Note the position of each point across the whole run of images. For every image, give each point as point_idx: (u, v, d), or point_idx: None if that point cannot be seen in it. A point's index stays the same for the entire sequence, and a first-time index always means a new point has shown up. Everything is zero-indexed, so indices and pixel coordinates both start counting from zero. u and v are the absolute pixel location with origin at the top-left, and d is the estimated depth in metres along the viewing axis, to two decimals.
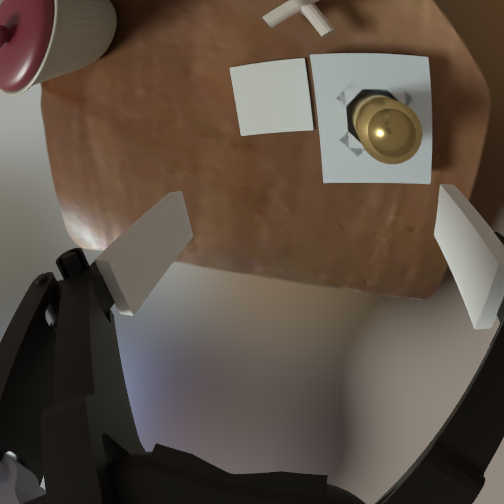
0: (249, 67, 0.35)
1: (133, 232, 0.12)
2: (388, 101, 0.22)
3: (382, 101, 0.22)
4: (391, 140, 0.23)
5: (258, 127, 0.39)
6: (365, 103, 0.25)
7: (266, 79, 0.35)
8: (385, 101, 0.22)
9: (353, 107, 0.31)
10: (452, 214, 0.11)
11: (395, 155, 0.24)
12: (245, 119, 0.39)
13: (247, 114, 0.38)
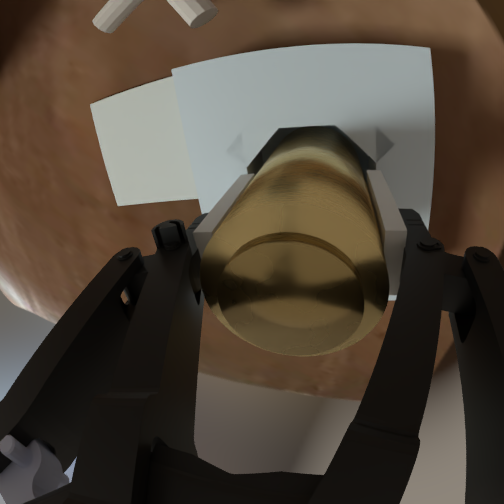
0: (113, 100, 0.21)
1: (225, 207, 0.12)
2: (277, 210, 0.08)
3: (257, 211, 0.08)
4: (285, 323, 0.09)
5: (136, 194, 0.25)
6: (248, 186, 0.11)
7: (136, 117, 0.21)
8: (267, 211, 0.08)
9: None
10: (371, 195, 0.13)
11: (299, 351, 0.10)
12: (118, 182, 0.25)
13: (119, 174, 0.25)
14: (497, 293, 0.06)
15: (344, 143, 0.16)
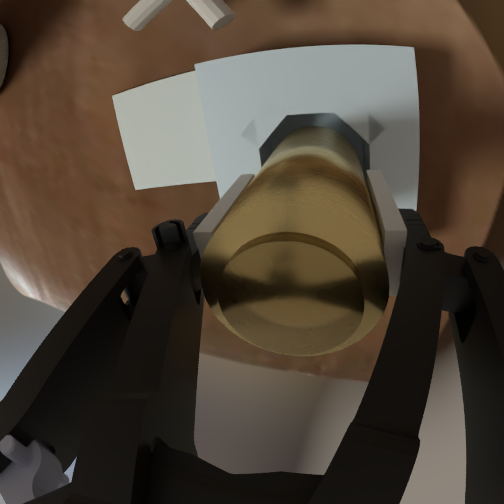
0: (134, 92, 0.23)
1: (225, 207, 0.12)
2: (278, 209, 0.08)
3: (257, 210, 0.08)
4: (286, 322, 0.09)
5: (153, 178, 0.28)
6: (248, 186, 0.11)
7: (156, 107, 0.24)
8: (267, 210, 0.08)
9: None
10: (370, 195, 0.13)
11: (299, 351, 0.10)
12: (136, 168, 0.27)
13: (138, 160, 0.27)
14: (497, 293, 0.06)
15: (344, 143, 0.16)
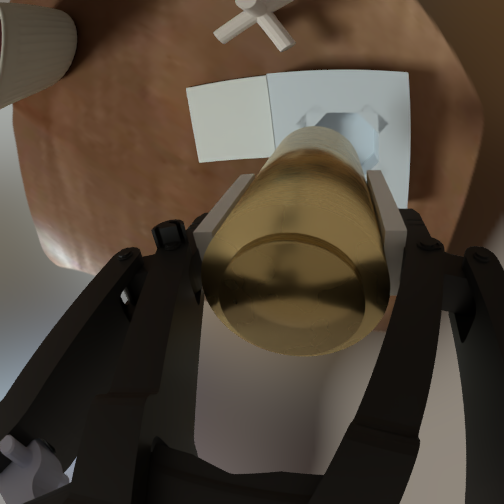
0: (206, 87, 0.32)
1: (225, 207, 0.12)
2: (279, 210, 0.08)
3: (259, 211, 0.08)
4: (287, 323, 0.09)
5: (216, 154, 0.37)
6: (249, 187, 0.11)
7: (224, 100, 0.33)
8: (268, 211, 0.08)
9: None
10: (370, 195, 0.13)
11: (300, 351, 0.10)
12: (202, 145, 0.37)
13: (205, 139, 0.36)
14: (497, 293, 0.06)
15: (345, 143, 0.16)
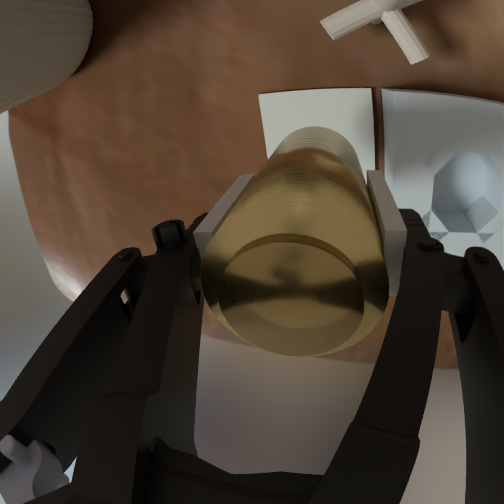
0: (288, 96, 0.24)
1: (225, 207, 0.12)
2: (278, 211, 0.08)
3: (258, 212, 0.08)
4: (286, 323, 0.09)
5: None
6: (248, 187, 0.11)
7: (313, 116, 0.25)
8: (267, 212, 0.08)
9: None
10: (370, 195, 0.13)
11: (299, 352, 0.10)
12: None
13: None
14: (497, 293, 0.06)
15: (344, 144, 0.16)
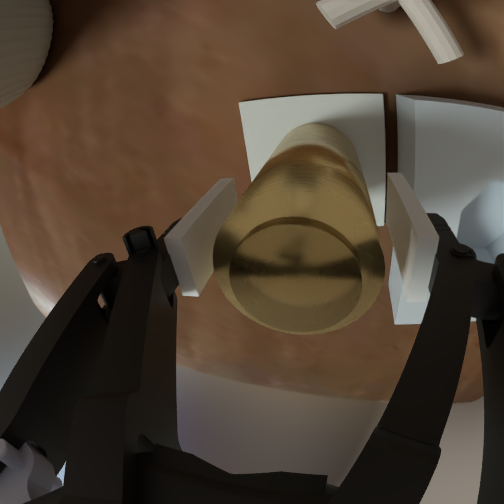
0: (277, 104, 0.19)
1: (198, 213, 0.12)
2: (284, 196, 0.09)
3: (266, 197, 0.09)
4: (291, 300, 0.10)
5: None
6: (255, 178, 0.12)
7: None
8: (275, 197, 0.09)
9: None
10: (394, 199, 0.12)
11: (303, 328, 0.11)
12: None
13: None
14: None
15: (343, 139, 0.17)
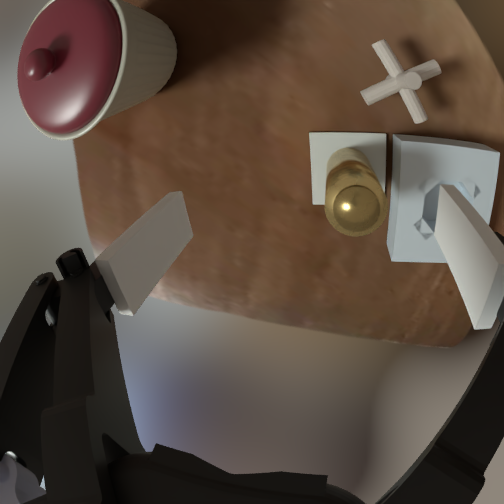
0: (330, 136, 0.36)
1: (133, 232, 0.12)
2: (355, 177, 0.25)
3: (349, 177, 0.26)
4: (355, 216, 0.27)
5: None
6: (335, 172, 0.29)
7: None
8: (352, 178, 0.25)
9: (328, 166, 0.35)
10: (452, 214, 0.11)
11: (358, 229, 0.27)
12: (318, 189, 0.40)
13: (322, 184, 0.40)
14: None
15: (365, 157, 0.34)
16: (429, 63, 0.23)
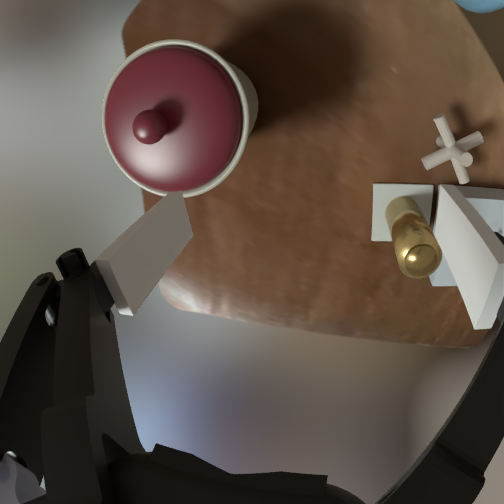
0: (390, 187, 0.42)
1: (133, 232, 0.12)
2: (422, 239, 0.32)
3: (418, 239, 0.32)
4: (419, 266, 0.33)
5: (386, 236, 0.47)
6: (404, 229, 0.36)
7: None
8: (420, 239, 0.32)
9: (390, 215, 0.41)
10: (452, 214, 0.11)
11: (420, 274, 0.34)
12: (377, 228, 0.47)
13: (380, 225, 0.46)
14: None
15: (418, 207, 0.40)
16: (475, 135, 0.30)
